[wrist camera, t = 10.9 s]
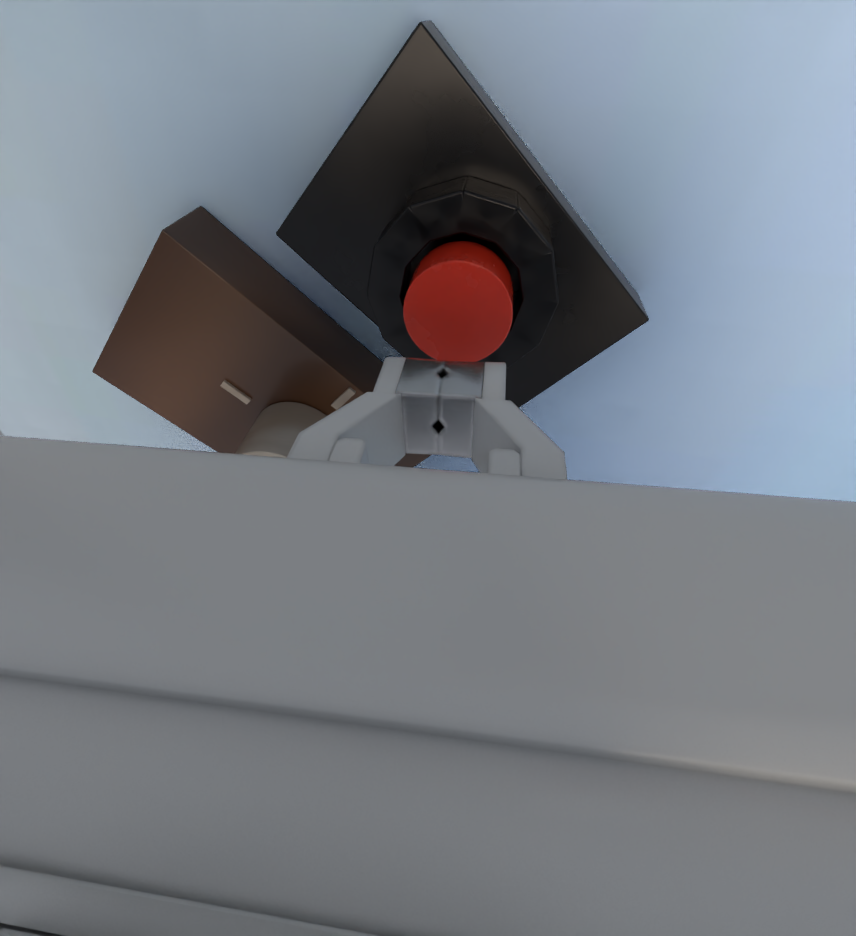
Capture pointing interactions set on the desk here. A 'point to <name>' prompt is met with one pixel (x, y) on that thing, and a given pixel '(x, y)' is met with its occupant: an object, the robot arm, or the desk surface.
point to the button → (459, 302)
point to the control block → (458, 219)
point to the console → (228, 339)
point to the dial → (278, 429)
